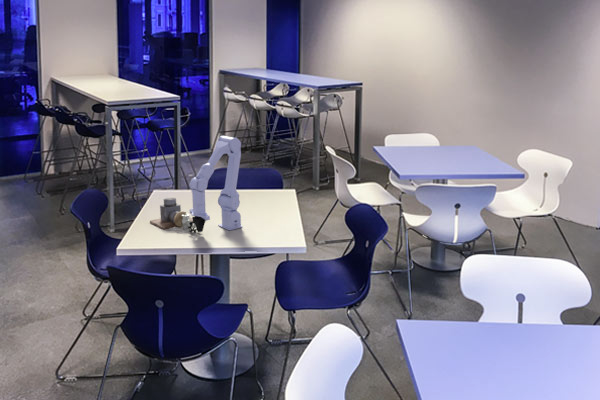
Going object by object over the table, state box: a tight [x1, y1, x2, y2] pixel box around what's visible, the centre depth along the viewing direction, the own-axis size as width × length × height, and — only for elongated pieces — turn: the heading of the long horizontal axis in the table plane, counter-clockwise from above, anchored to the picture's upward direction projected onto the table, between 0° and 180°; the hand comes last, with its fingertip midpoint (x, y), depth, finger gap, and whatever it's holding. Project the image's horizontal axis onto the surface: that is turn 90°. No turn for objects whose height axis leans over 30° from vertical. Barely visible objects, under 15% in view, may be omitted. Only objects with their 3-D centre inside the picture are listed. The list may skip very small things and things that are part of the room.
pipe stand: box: [149, 197, 193, 230], centre depth 309 cm, size 16×18×12 cm
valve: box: [181, 213, 197, 234], centre depth 300 cm, size 7×7×12 cm
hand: (200, 231), depth 292 cm, fingers closed
